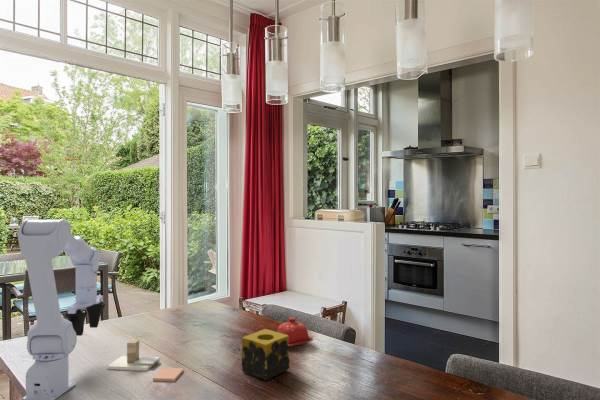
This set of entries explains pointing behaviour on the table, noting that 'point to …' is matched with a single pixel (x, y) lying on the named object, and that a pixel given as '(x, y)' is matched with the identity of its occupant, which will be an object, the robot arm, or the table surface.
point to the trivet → (127, 365)
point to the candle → (265, 354)
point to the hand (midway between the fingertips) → (86, 331)
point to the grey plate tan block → (134, 355)
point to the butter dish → (294, 332)
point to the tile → (168, 374)
